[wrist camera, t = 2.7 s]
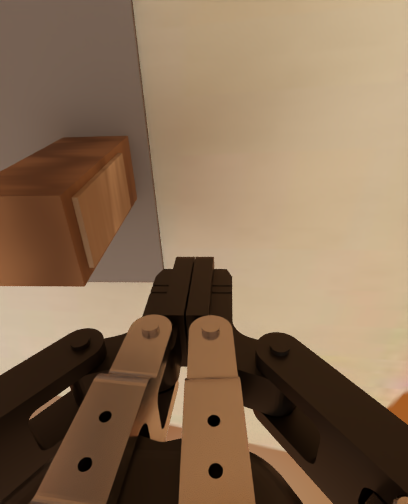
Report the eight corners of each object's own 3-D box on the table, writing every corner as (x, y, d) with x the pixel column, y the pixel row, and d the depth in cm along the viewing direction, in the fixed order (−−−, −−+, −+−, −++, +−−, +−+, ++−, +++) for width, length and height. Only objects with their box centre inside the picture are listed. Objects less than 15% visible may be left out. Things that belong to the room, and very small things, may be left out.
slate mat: (-52, 278, 34) (-55, 281, 34) (-192, 11, 23) (-198, 10, 22) (165, 279, 32) (164, 282, 32) (131, -8, 21) (129, -8, 21)
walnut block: (78, 199, 28) (-8, 285, 18) (63, 137, 26) (-47, 196, 15) (140, 198, 28) (90, 286, 18) (131, 135, 25) (66, 195, 15)
